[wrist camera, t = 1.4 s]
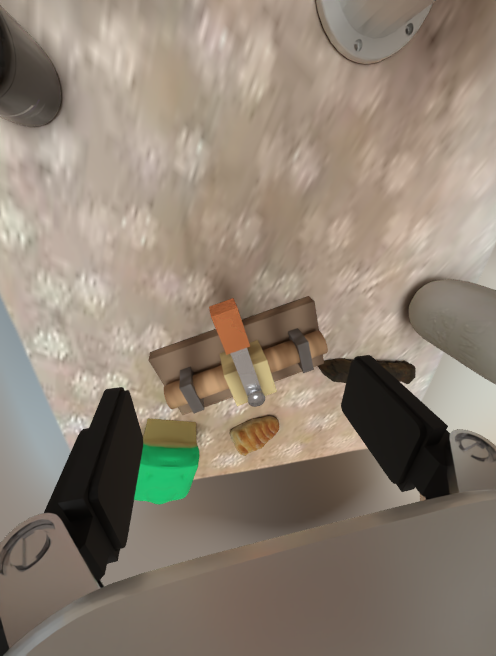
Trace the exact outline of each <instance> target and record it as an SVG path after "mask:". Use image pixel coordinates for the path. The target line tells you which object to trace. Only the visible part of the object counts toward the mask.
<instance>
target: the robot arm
mask: <svg viewBox="0 0 496 656" xmlns="http://www.w3.org/2000/svg"><path fill="white" fill-rule="evenodd" d="M434 1H436V0H316V3H317V9H318V13H319V16H320V19H321V22H322V25H323V28H324V30H325V32H326V34H327V36H328V38H329V40H330V41H331V43H332V44H333V45H334V46H335V48H336V49H337V50H338V51H339V52H340V53H341V54H342V55H344V56H345V57H346V58H348V59H350V60H352V61H354V62H357V63H364V64H370V63H376V62H380V61H382V60H384V59H386V58H388V57H390V56H391V55H393V54H394V53H396V52H397V51H399V50H400V49H401V48H402V47H404V46H405V45H406V44H407V43H408V42H409V41H410V40H411V39H412V37H413V36H414V35H415V34H416V32H417V31H418V30H419V29H420V27H421V25H422V24H423V22H424V20H425V19H426V17H427V15H428V13H429V11H430V9H431V6H432V4H433V2H434ZM354 47H355V48H354ZM341 408H342V411H343V413H344V414H345V416H346V417H347V419H348V420H349V422H350V423H351V425H352V426H353V427H354V429H355V430H356V432H357V433H358V435H359V436H360V437H361V439H362V440H363V442H364V443H365V445H366V446H367V448H368V449H369V450H370V452H371V453H372V455H373V456H374V457H375V459H376V460H377V462H378V463H379V465H380V466H381V468H382V469H383V471H384V472H385V473H386V475H387V476H388V478H389V479H390V480H391V482H393V483H394V484H397V486H398V487H399V489H400V490H401V491H402V492H404V491H408V490H412V489H414V488H415V487H416V489H417V490H418V491H419V492H420V501H419V502H415V503H411V504H407V505H403V506H399V507H395V508H391V509H387V510H383V511H379V512H375V513H371V514H367V515H363V516H359V517H355V518H351V519H347V520H343V521H339V522H335V523H331V524H327V525H323V526H319V527H316V528H311V529H308V530H304V531H300V532H296V533H292V534H288V535H284V536H280V537H276V538H272V539H268V540H265V541H261V542H257V543H253V544H249V545H245V546H241V547H238V548H234V549H230V550H226V551H222V552H218V553H215V554H211V555H207V556H204V557H199V558H195V559H192V560H188V561H185V562H181V563H178V564H174V565H170V566H167V567H163V568H160V569H156V570H153V571H149V572H146V573H142V574H139V575H136V576H133V577H130V578H127V579H124V580H121V581H118V582H115V583H112V584H110V585H107V586H104V585H103V583H102V581H101V578H102V577H103V576H104V575H105V570H106V565H107V564H108V563H111V562H116V561H118V556H119V551H120V549H121V548H124V547H125V546H126V542H127V537H128V532H129V525H130V520H131V514H132V508H133V502H134V497H135V491H136V485H137V480H138V474H139V468H140V462H141V456H142V451H143V436H142V433H141V429H140V426H139V422H138V419H137V415H136V412H135V409H134V405H133V402H132V398H131V395H130V392H129V390H126V391H124V388H123V387H119V388H112V389H106V390H105V391H104V393H103V396H102V398H101V400H100V403H99V405H98V408H97V410H96V413H95V415H94V417H93V420H92V422H91V425H90V427H89V428H87V429H83V430H82V431H81V432H80V433H79V435H78V437H77V440H76V442H75V444H74V446H73V448H72V451H71V453H70V455H69V458H68V460H67V462H66V464H65V467H64V469H63V471H62V474H61V476H60V478H59V480H58V482H57V485H56V487H55V489H54V491H53V494H52V496H51V499H50V500H49V502H48V505H47V507H46V509H45V512H44V513H43V514H38V515H36V516H33V517H31V518H29V519H27V520H26V521H24V522H22V523H20V524H19V525H18V526H16V527H15V528H14V529H13V530H12V531H11V532H9V533H8V535H7V536H6V537H5V538H4V539H3V541H2V542H1V543H0V656H496V446H495V445H494V444H493V443H492V442H490V441H489V440H488V439H486V438H484V437H483V436H481V435H479V434H477V433H474V432H472V431H468V430H460V429H459V430H458V429H457V430H454V431H452V432H451V433H449V432H448V431H447V430H446V429H447V427H448V426H447V425H446V424H445V423H444V422H443V421H442V420H441V419H440V418H439V417H437V416H436V415H435V414H434V413H433V412H432V411H431V410H430V409H429V408H428V407H427V406H425V405H424V404H423V403H422V402H421V401H420V400H419V399H418V398H417V397H416V396H414V395H413V394H412V393H411V392H410V391H409V390H408V389H407V388H406V387H405V386H403V385H402V384H401V383H400V382H399V381H398V380H397V379H396V378H395V377H394V376H392V375H391V374H390V373H389V372H388V371H387V370H386V369H385V368H384V367H383V366H381V365H380V364H379V363H378V362H377V361H376V360H375V359H374V358H373V357H371V356H370V355H365V356H357V357H355V358H354V360H353V361H352V362H351V365H350V369H349V374H348V378H347V382H346V386H345V391H344V395H343V399H342V403H341Z"/></svg>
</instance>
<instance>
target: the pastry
mask: <svg viewBox="0 0 496 656" xmlns="http://www.w3.org/2000/svg"><path fill="white" fill-rule="evenodd" d="M278 430H279V422H278V420H277V419H276V418H274V417H272V416H265V417H262V418H253V419H251V420H249V421H247V422H245V423H242V424H240V425H238V426H236V427H234V428H233V429H232V430H231V431H230V436H231V439H232V441H233V443H234V444H235V447H236V449H237V450H238V452H239V453H240V454H241V455H244V456H246V455H247V454H248V453H250V452H252V451H256V450H257V449H260V448H262V447H263V446H264V445H265V444H266V443H267V442H268V440H270V439H272V438H273V436H274V435H275V434H276V433H277V432H278Z"/></svg>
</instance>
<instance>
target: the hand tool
mask: <svg viewBox="0 0 496 656" xmlns="http://www.w3.org/2000/svg"><path fill="white" fill-rule="evenodd" d="M351 362H352V361H350V360H346V359H345V358H340V359H331V360H326V361H324V364H321V365H318V367H319V369H320V370H321V372H322V373H323V374H324V375H325V376H327V377H328V378H329V379H331V380H332V381H333V382H343V383H346V382H347V378H348V374H349V369H350V365H351ZM378 363H379V364H380V365H381V366H383V367H384V368H385V369H386V370H387V371H388V372H389V373H390V374H391V375H392V376H394V377H395V378H396V379H397V380H398V381H400V382H403V383H406V384H409V383H410V382H411V381H412V380H413V379H414V378H415V366H413V365H412V364H409V363H408V362H406V361H403V362H398V361H396V363H390V362H387V363H382V362H378Z"/></svg>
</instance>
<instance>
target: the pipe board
mask: <svg viewBox="0 0 496 656" xmlns="http://www.w3.org/2000/svg"><path fill="white" fill-rule="evenodd" d="M242 323H243V326H244V329H245V332H246V335H247V338H248V341H249V344H250V347H247V349H248V352H249V355H250V358H251V361H252V364H253V367H254V369H255V372H256V375H257V378H258V381H259V384H260V387H261V390H262V391H263V393H264V396H266V395H269V394H272V393H274V392H277V391H276V388H275V384H274V382H275V381H278V380H280V379H283V378H286V377H288V376H291V375H294V374H297V373H299V372H302V371H303V373H305V372H308V371H311V370H314V368H313V367H316V366H318V365H321V364H324V360H323V354H325V353H327V351H328V349H327V344H326V341H325V339H324V337H323V335H322V333H321V332H320V331H319V328H318V322H317V315H316V309H315V303H314V301H313V300H312V299H311V298H310V297H309V296H308V297H305V298H302V299H300V300H297V301H294V302H291V303H288V304H285V305H283V306H280V307H277V308H274V309H271V310H268V311H266V312H263V313H260V314H257V315H254V316H251V317H249V318H246V319H243V320H242ZM149 362H150V363H151V365H152V366H153V368H154V370H155V371H156V373H157V375H158V376H159V378H160V379H161V381H162V383H163V384H164V395H165V399H166V402H167V404H168V406H169V407H170V408H171V409H174V408H177V407H178V409H179V410H180V412H181V413H182V415H185V414H188V413H190V412H193V413H196V412H199V411H202V410H204V407H207V406H209V405H212V404H215V403H218V402H220V401H223V400H226V399H228V398H231V397H233V398H234V400H235V402H236V405H237V406H239V405H242V404H244V403H247V402H248V399H247V394H246V392H245V389H244V387H243V384H242V382H241V379H240V377H239V374H238V372H237V369H236V367H235V364H234V361H233V359H232V356H231V354H228V355H226V352H225V350H224V347H223V345H222V343H221V340H220V338H219V335H218V333H217V330H216V329H215V330H212V331H209V332H206V333H203V334H201V335H198V336H195V337H192V338H189V339H187V340H184V341H181V342H178V343H175V344H172V345H170V346H167V347H164V348H161V349H158V350H155V351H153V352H150V356H149Z"/></svg>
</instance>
